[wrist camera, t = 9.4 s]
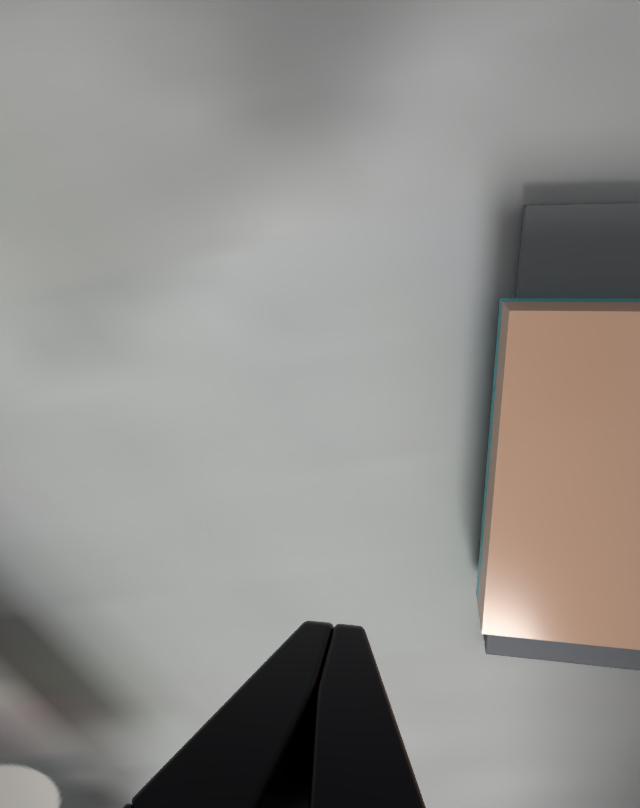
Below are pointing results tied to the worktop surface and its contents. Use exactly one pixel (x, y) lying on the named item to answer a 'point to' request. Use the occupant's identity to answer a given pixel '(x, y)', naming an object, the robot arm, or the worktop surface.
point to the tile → (563, 474)
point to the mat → (576, 278)
